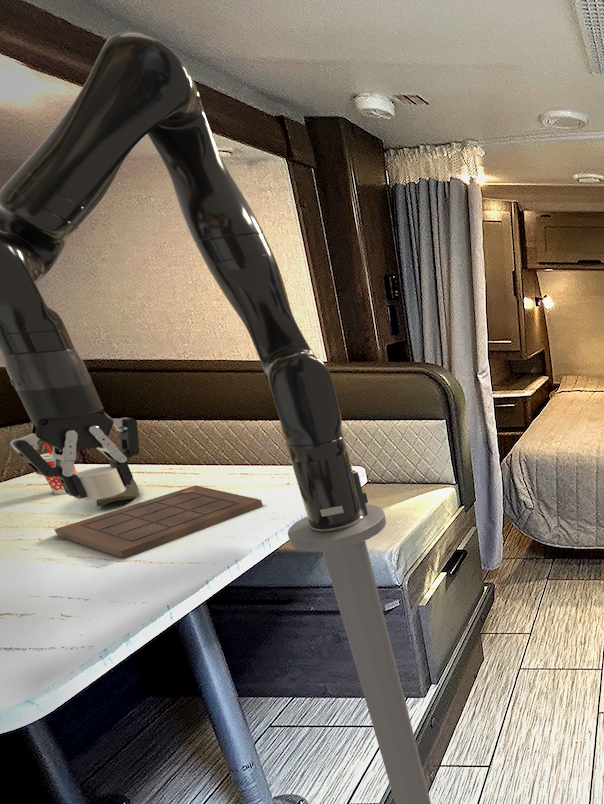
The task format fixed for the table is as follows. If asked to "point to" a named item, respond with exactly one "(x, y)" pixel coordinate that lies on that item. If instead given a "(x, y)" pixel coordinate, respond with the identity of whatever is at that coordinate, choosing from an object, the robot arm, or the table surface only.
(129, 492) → the decorative stone
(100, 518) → the game board
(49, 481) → the beverage cup
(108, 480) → the game stone
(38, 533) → the table surface
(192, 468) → the table surface
